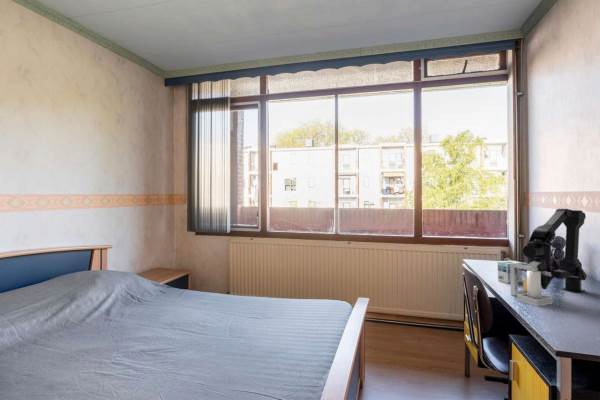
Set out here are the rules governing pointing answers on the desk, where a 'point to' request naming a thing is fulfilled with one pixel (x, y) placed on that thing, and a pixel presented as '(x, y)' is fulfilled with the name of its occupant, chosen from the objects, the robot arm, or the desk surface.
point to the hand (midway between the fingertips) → (544, 289)
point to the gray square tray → (534, 300)
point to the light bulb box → (508, 271)
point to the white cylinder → (534, 284)
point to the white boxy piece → (515, 278)
